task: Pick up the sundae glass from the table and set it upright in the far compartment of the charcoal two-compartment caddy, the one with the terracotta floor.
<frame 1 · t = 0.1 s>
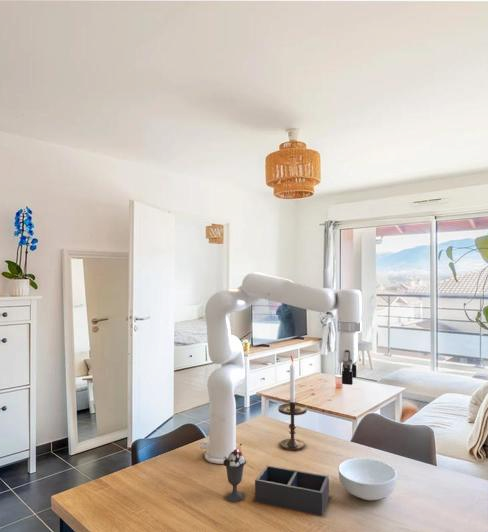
hand: (349, 380, 129), 31 cm above the table, tool pointing down, fingers open, 9 cm apart
cereal bowl: (367, 494, 119), on the table
sundae: (234, 497, 117), on the table
candlestick: (292, 446, 153), on the table
caddy: (292, 499, 116), on the table
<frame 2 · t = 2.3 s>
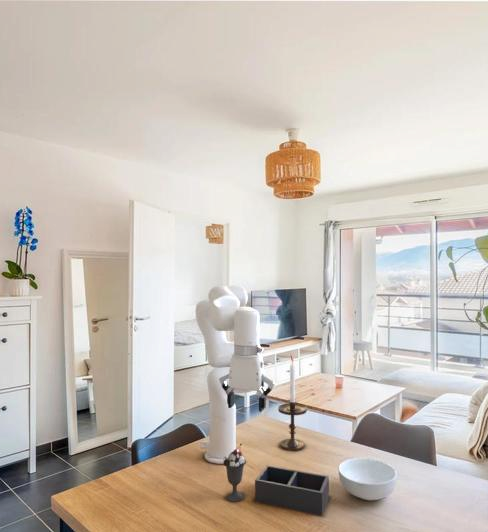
hand: (246, 408, 119), 25 cm above the table, tool pointing down, fingers open, 9 cm apart
nothing on the table moved.
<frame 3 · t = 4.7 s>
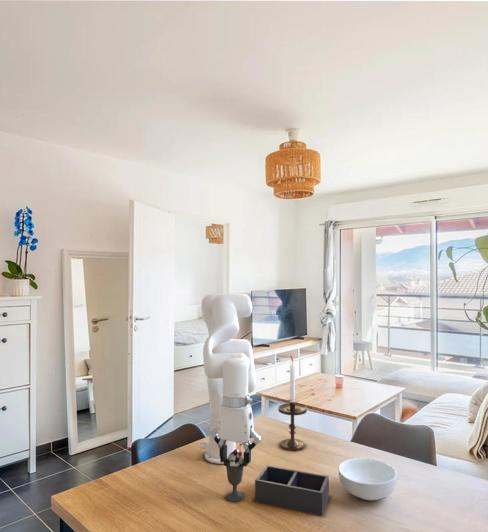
hand: (235, 461, 118), 10 cm above the table, tool pointing down, fingers closed on sundae, 6 cm apart
sundae: (234, 497, 117), on the table, touching gripper
everything else where it was.
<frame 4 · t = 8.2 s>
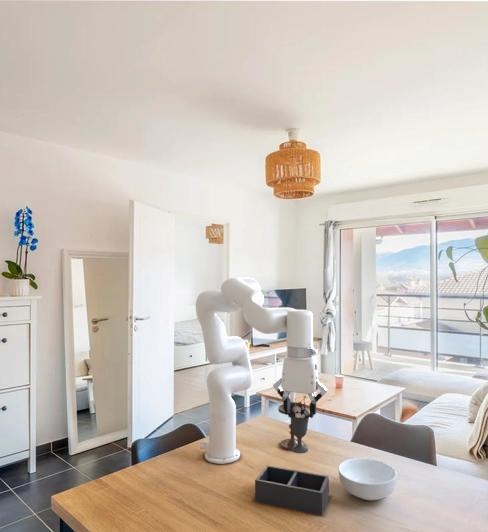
hand: (299, 414, 116), 25 cm above the table, tool pointing down, fingers closed on sundae, 6 cm apart
sundae: (299, 450, 115), point 14 cm above the table, touching gripper
everything else where it was.
when the fingers open (11 cm above the table, at t = 11.8 s): sundae stays where it is, resting on caddy.
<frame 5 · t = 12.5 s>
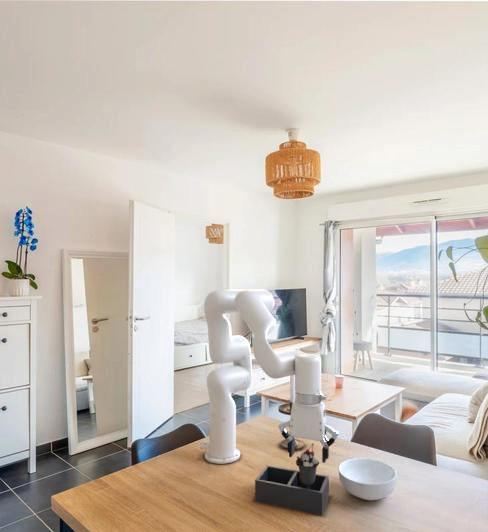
hand: (307, 457, 115), 12 cm above the table, tool pointing down, fingers open, 9 cm apart
sundae: (307, 498, 115), point 1 cm above the table, touching caddy
everything else where it was.
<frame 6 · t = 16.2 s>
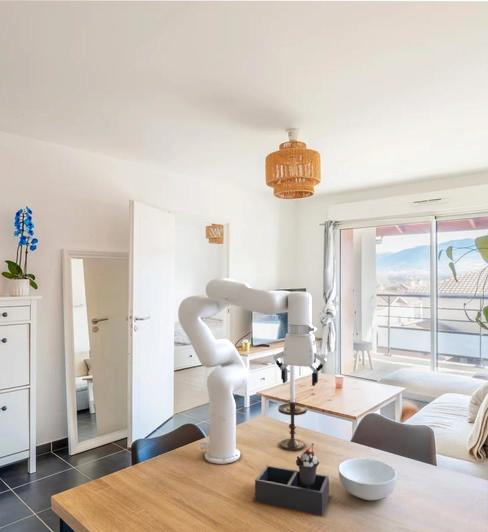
hand: (299, 383, 129), 30 cm above the table, tool pointing down, fingers open, 9 cm apart
nothing on the table moved.
at the end: sundae 0.1 cm from the target spot in the caddy, point 1.0 cm above the caddy's base; sundae tilted 0°; the gripper is holding nothing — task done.
